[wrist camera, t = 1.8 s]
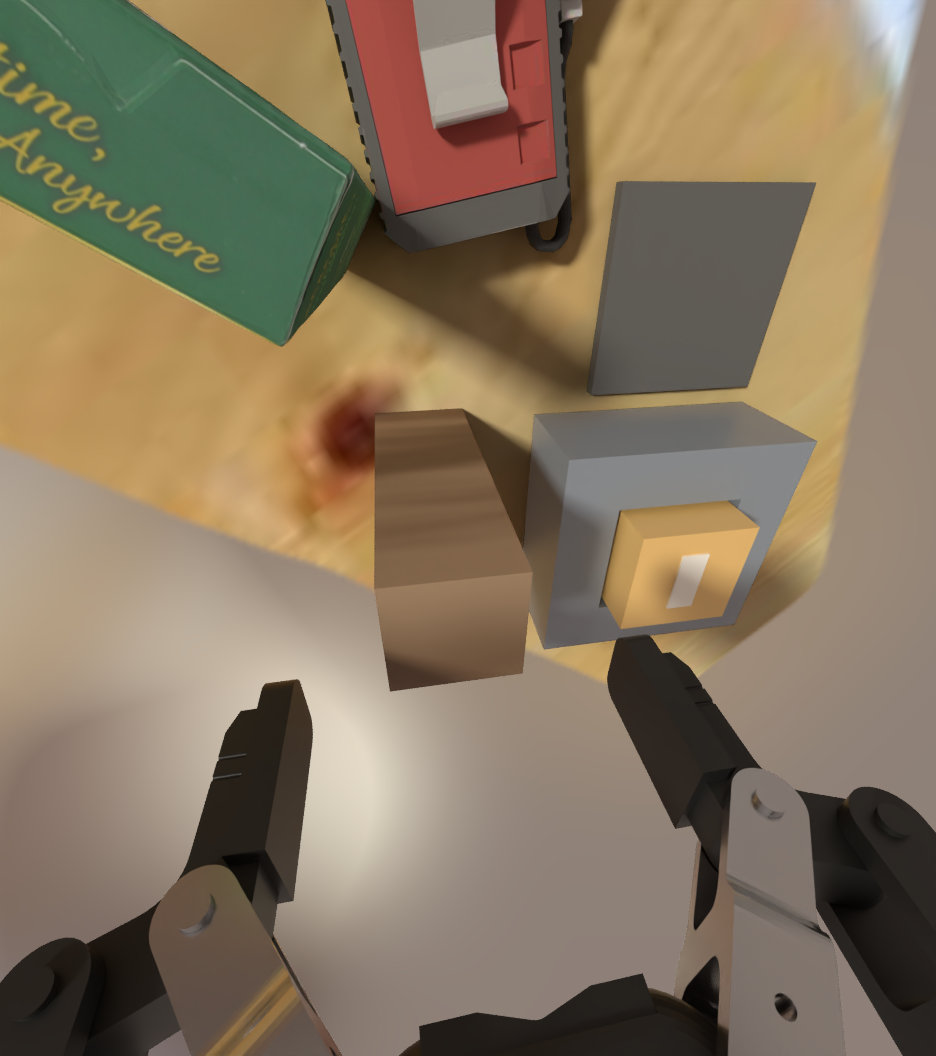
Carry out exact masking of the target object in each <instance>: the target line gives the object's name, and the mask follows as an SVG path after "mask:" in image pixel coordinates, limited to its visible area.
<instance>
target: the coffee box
mask: <svg viewBox="0 0 936 1056" xmlns="http://www.w3.org/2000/svg"><path fill="white" fill-rule="evenodd" d="M0 201H2V202H4V203H6V204H7V205H9V206H11V207H13V208H15V209H17V210H19V211H21V212H22V213H24V214H26V215H28V216H30V217H32V218H34V219H36V220H37V221H39V222H41V223H43V224H45V225H47V226H49V227H51V228H52V229H54V230H56V231H58V232H60V233H62V234H64V235H65V236H67V237H69V238H71V239H73V240H75V241H77V242H79V243H80V244H82V245H84V246H86V247H88V248H90V249H92V250H94V251H95V252H97V253H99V254H101V255H103V256H105V257H107V258H109V259H110V260H112V261H114V262H116V263H118V264H120V265H122V266H124V267H126V268H128V269H129V270H131V271H133V272H135V273H137V274H139V275H141V276H143V277H145V278H147V279H149V280H150V281H152V282H154V283H156V284H158V285H160V286H162V287H164V288H166V289H168V290H170V291H172V292H173V293H175V294H177V295H179V296H181V297H183V298H185V299H187V300H189V301H191V302H193V303H195V304H197V305H199V306H201V307H202V308H204V309H206V310H208V311H210V312H212V313H214V314H216V315H218V316H220V317H222V318H224V319H226V320H227V321H229V322H231V323H233V324H235V325H237V326H239V327H241V328H243V329H245V330H247V331H249V332H251V333H253V334H255V335H257V336H259V337H261V338H263V339H264V340H266V341H268V342H270V343H273V344H275V345H278V346H281V347H282V346H284V345H285V344H287V343H288V342H289V340H290V339H291V338H292V337H293V335H294V334H295V333H296V331H297V330H298V328H299V327H300V326H301V325H302V324H303V323H304V322H305V321H306V320H307V319H308V318H309V316H310V315H311V314H312V313H313V312H314V311H315V310H316V309H317V307H318V306H319V305H320V304H321V303H322V301H323V300H324V299H325V298H326V297H327V295H328V294H329V293H330V292H331V290H332V289H333V288H334V286H335V285H336V284H337V283H338V282H339V281H340V280H341V279H342V277H343V275H344V274H345V273H346V271H347V268H348V265H349V263H350V260H351V258H352V255H353V253H354V251H355V248H356V246H357V244H358V241H359V239H360V236H361V234H362V232H363V230H364V227H365V225H366V223H367V221H368V219H369V216H370V214H371V211H372V209H373V207H374V205H375V198H374V196H373V195H372V193H371V192H370V191H369V190H368V188H367V187H366V186H365V183H364V182H363V181H362V179H361V178H360V176H359V174H358V173H357V171H356V169H355V168H354V166H353V165H352V164H351V163H350V162H349V161H348V160H347V159H346V158H345V157H344V156H342V155H341V154H340V153H338V152H337V151H336V150H334V149H333V148H331V147H330V146H329V145H327V144H326V143H324V142H323V141H322V140H320V139H319V138H318V137H316V136H315V135H313V134H312V133H310V132H309V131H307V130H306V129H304V128H303V127H302V126H300V125H299V124H298V123H296V122H295V121H294V120H292V119H291V118H290V117H288V116H287V115H286V114H284V113H283V112H282V111H280V110H279V109H278V108H276V107H275V106H274V105H272V104H271V103H270V102H268V101H267V100H265V99H264V98H263V97H261V96H260V95H259V94H257V93H256V92H254V91H253V90H252V89H250V88H249V87H247V86H246V85H244V84H243V83H242V82H240V81H239V80H237V79H236V78H235V77H233V76H232V75H230V74H229V73H228V72H226V71H225V70H223V69H222V68H221V67H219V66H218V65H216V64H215V63H214V62H212V61H211V60H209V59H208V58H207V57H205V56H204V55H202V54H201V53H199V52H198V51H197V50H195V49H194V48H192V47H191V46H190V45H188V44H187V43H185V42H184V41H182V40H181V39H180V38H178V37H177V36H176V35H174V34H173V33H172V32H171V31H169V30H168V29H167V28H165V27H164V26H163V25H162V24H160V23H159V22H158V21H156V20H155V19H153V18H152V17H150V16H149V15H148V14H146V13H145V12H143V11H142V10H141V9H139V8H138V7H137V6H135V5H134V4H133V3H131V2H130V1H129V0H0Z"/></svg>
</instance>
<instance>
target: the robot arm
mask: <svg viewBox="0 0 936 1056" xmlns="http://www.w3.org/2000/svg"><path fill="white" fill-rule="evenodd" d="M607 683H608V689H609V693H610V696H611V699H612V701H613V703H614V705H615V707H616V709H617V711H618V713H619V715H620V717H621V719H622V721H623V723H624V725H625V727H626V729H627V731H628V733H629V735H630V738H631V739H632V742H633V744H634V746H635V748H636V750H637V752H638V754H639V755H640V758H641V760H642V762H643V764H644V766H645V768H646V770H647V772H648V774H649V776H650V778H651V780H652V782H653V784H654V786H655V788H656V790H657V793H658V795H659V797H660V799H661V801H662V803H663V805H664V807H665V809H666V811H667V813H668V815H669V817H670V819H671V821H672V823H673V825H674V827H675V829H677V828H682V827H687V826H692V827H693V829H694V831H695V833H696V835H697V837H698V840H697V844H696V852H695V861H694V870H693V879H692V889H691V897H690V907H689V916H688V925H687V932H686V937H685V941H684V945H683V948H682V951H681V954H680V959H679V962H678V967H677V973H676V980H675V988H674V996H672V995H670V994H668V993H665V992H662V991H659V990H656V989H652V988H648V987H647V984H646V982H645V979H644V976H643V974H638V975H634V976H630V977H625V978H621V979H617V980H613V981H609V982H605V983H600V984H596V985H591V986H589V987H588V988H587V989H585V990H584V991H582V992H581V993H580V994H578V995H576V996H575V997H573V998H572V999H571V1000H569V1001H568V1002H566V1003H565V1004H563V1005H562V1006H560V1007H559V1008H557V1009H556V1010H555V1011H553V1012H552V1013H550V1014H549V1015H547V1016H546V1017H544V1018H543V1019H540V1020H527V1019H520V1018H512V1017H505V1016H498V1015H490V1014H484V1013H473V1014H469V1015H465V1016H460V1017H456V1018H453V1019H448V1020H444V1021H440V1022H435V1023H431V1024H427V1025H423V1026H419V1030H420V1040H418V1041H417V1042H416V1043H414V1044H413V1045H412V1046H410V1047H408V1048H407V1049H406V1050H405V1051H404V1052H403V1053H401V1054H400V1055H399V1056H846V1052H845V1041H844V1031H843V1021H842V1010H841V1001H840V989H839V979H838V969H837V960H836V954H835V949H834V946H833V943H832V941H831V939H830V937H829V936H828V935H827V933H825V932H823V931H821V929H820V927H819V925H818V922H817V916H816V909H817V911H818V912H819V914H820V916H821V918H822V919H823V921H824V923H825V924H826V926H827V928H828V929H829V931H830V933H831V934H832V936H833V938H834V940H835V941H836V943H837V945H838V946H839V948H840V950H841V952H842V953H843V955H844V957H845V958H846V960H847V961H848V963H849V965H850V967H851V968H852V970H853V972H854V973H855V975H856V977H857V979H858V980H859V982H860V984H861V986H862V987H863V989H864V991H865V992H866V994H867V996H868V997H869V999H870V1001H871V1003H872V1004H873V1006H874V1008H875V1009H876V1011H877V1013H878V1014H879V1016H880V1018H881V1019H882V1021H883V1023H884V1025H885V1026H886V1028H887V1030H888V1031H889V1033H890V1035H891V1037H892V1038H893V1040H894V1042H895V1043H896V1045H897V1047H898V1048H899V1050H900V1052H901V1054H902V1055H903V1056H936V832H935V831H934V830H933V829H932V828H931V827H930V825H929V824H928V823H927V822H926V821H925V820H924V818H923V817H922V816H921V815H920V814H919V813H918V812H917V811H916V810H915V809H913V808H912V807H911V806H910V805H909V804H907V803H906V802H905V801H903V800H902V799H900V798H898V797H897V796H895V795H893V794H891V793H889V792H887V791H884V790H881V789H878V788H873V787H861V788H857V789H855V790H854V791H853V792H852V793H851V794H850V795H849V796H848V797H847V799H843V798H837V797H831V796H825V795H819V794H813V793H807V792H803V791H798V790H795V789H794V788H793V787H792V786H790V784H788V783H787V782H786V781H785V780H783V779H782V778H780V777H779V776H777V775H775V774H773V773H771V772H769V771H766V770H763V769H762V768H761V767H760V766H759V765H758V764H757V762H756V761H755V760H754V759H753V757H752V756H751V754H750V753H749V752H748V750H747V749H746V747H745V746H744V744H743V743H742V742H741V740H740V739H739V737H738V736H737V734H736V733H735V731H734V730H733V729H732V727H731V726H730V724H729V723H728V722H727V720H726V719H725V717H724V716H723V715H722V713H721V712H720V710H719V709H718V707H717V706H716V704H713V702H712V699H711V697H710V696H709V694H708V693H707V692H706V690H705V689H703V688H702V684H701V683H700V682H699V680H698V679H697V677H696V676H695V674H694V673H693V671H692V670H691V669H690V667H689V666H687V665H686V664H685V663H684V662H682V661H681V660H680V659H679V658H677V657H676V656H675V655H674V654H672V653H671V652H669V653H662V652H661V651H660V649H659V648H658V646H657V645H656V643H655V642H654V640H653V639H652V638H651V637H650V636H649V635H647V634H643V635H636V636H628V637H621V638H618V639H617V640H616V643H615V647H614V651H613V655H612V659H611V663H610V667H609V671H608V676H607ZM312 739H313V729H312V720H311V715H310V712H309V709H308V706H307V703H306V699H305V697H304V693H303V690H302V687H301V684H300V681H299V680H297V679H296V680H289V681H281V682H273V683H266V684H265V685H264V686H263V688H262V691H261V695H260V699H259V703H258V707H257V709H252V710H245V711H241V712H240V713H239V714H238V716H237V717H236V719H235V720H234V722H233V723H232V724H231V726H230V727H229V729H228V730H227V732H226V733H225V736H224V740H223V743H222V746H221V750H220V753H219V761H217V764H216V767H215V770H214V774H213V781H212V782H211V784H210V788H209V791H208V794H207V798H206V801H205V805H204V809H203V812H202V815H201V819H200V822H199V825H198V829H197V832H196V836H195V839H194V843H193V846H192V849H191V853H190V856H189V860H188V862H187V864H186V867H185V869H184V871H183V873H182V874H181V876H180V878H179V879H178V881H177V882H176V883H175V884H174V885H173V886H172V887H171V888H170V889H169V890H168V892H167V893H166V894H165V895H164V897H163V898H162V900H160V901H159V902H158V903H157V904H156V905H155V906H153V907H152V908H150V909H149V910H148V911H146V912H145V913H143V914H141V915H140V916H138V917H136V918H135V919H132V920H131V921H129V922H127V923H125V924H123V925H121V926H119V927H117V928H115V929H114V930H112V931H110V932H108V933H106V934H104V935H102V936H100V937H98V938H97V939H95V940H93V941H91V942H89V943H87V944H85V943H83V942H82V941H81V940H78V939H75V938H62V939H58V940H54V941H51V942H49V943H47V944H45V945H43V946H41V947H39V948H38V949H36V950H35V951H34V952H31V953H30V954H29V955H28V956H26V957H25V958H24V959H23V960H21V962H19V963H18V964H17V965H16V966H15V967H14V968H13V969H12V970H11V971H10V972H9V974H7V975H6V977H5V978H4V979H3V980H2V982H1V983H0V1056H148V1051H149V1049H151V1048H153V1047H154V1046H155V1045H157V1044H159V1043H160V1042H162V1041H163V1040H165V1039H166V1038H168V1037H170V1036H171V1035H173V1034H175V1033H176V1032H178V1031H179V1030H182V1033H183V1036H184V1039H185V1041H186V1044H187V1047H188V1049H189V1052H190V1055H191V1056H342V1054H341V1052H340V1050H339V1049H338V1047H337V1045H336V1044H335V1042H334V1040H333V1038H332V1037H331V1035H330V1033H329V1032H328V1030H327V1029H326V1027H325V1025H324V1023H323V1022H322V1020H321V1018H320V1017H319V1015H318V1013H317V1011H316V1009H315V1008H314V1006H313V1004H312V1002H311V1000H310V999H309V997H308V995H307V993H306V991H305V990H304V988H303V986H302V984H301V982H300V981H299V979H298V977H297V975H296V973H295V972H294V970H293V968H292V967H291V964H290V963H289V961H288V960H287V957H286V955H285V954H284V952H283V950H282V948H281V947H280V945H279V943H278V941H277V939H276V938H275V936H274V934H273V931H274V923H275V917H276V910H277V904H279V903H284V902H289V901H293V899H294V891H295V890H294V889H295V883H296V874H297V866H298V858H299V849H300V841H301V832H302V825H303V816H304V808H305V800H306V790H307V782H308V774H309V766H310V758H311V749H312Z"/></svg>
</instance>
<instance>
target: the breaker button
mask: <svg viewBox="0 0 936 1056" xmlns="http://www.w3.org/2000/svg"><path fill="white" fill-rule="evenodd" d="M759 529H760V527H759V526H758V525H756V524H755V523H754V522H753V521H752V520H750V519H749V518H748V517H747V516H745V515H744V514H743V513H742V512H741V511H739V510H738V509H737V508H736V507H735V506H733V505H732V504H731V503H730V502H729V501H727V500H726V501H715V502H704V503H693V504H682V505H671V506H661V507H650V508H639V509H628V510H620V511H619V515H618V520H617V524H616V529H615V534H614V538H613V543H612V548H611V552H610V557H609V562H608V566H607V571H606V575H605V580H604V585H603V589H602V594H601V596H602V598H603V600H604V602H605V603H606V605H607V607H608V609H609V610H610V612H611V614H612V615H613V617H614V619H615V621H616V622H617V624H618V626H619V627H620V629H626V628H634V627H642V626H650V625H658V624H665V623H673V622H681V621H689V620H697V619H705V618H712V617H720V616H722V615H723V613H724V610H725V608H726V606H727V603H728V601H729V599H730V596H731V594H732V592H733V589H734V587H735V585H736V582H737V580H738V578H739V575H740V573H741V571H742V568H743V566H744V564H745V561H746V559H747V557H748V554H749V552H750V550H751V547H752V545H753V543H754V540H755V538H756V536H757V533H758V531H759Z"/></svg>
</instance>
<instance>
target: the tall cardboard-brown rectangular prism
mask: <svg viewBox="0 0 936 1056" xmlns="http://www.w3.org/2000/svg"><path fill="white" fill-rule="evenodd" d="M532 573H533V572H532V569H531V567H530V565H529V562H528V560H527V558H526V555H525V553H524V551H523V549H522V546H521V544H520V542H519V539H518V537H517V535H516V532H515V530H514V528H513V525H512V523H511V521H510V518H509V516H508V514H507V511H506V509H505V507H504V504H503V502H502V500H501V497H500V495H499V493H498V491H497V488H496V486H495V484H494V481H493V479H492V477H491V474H490V472H489V470H488V467H487V465H486V463H485V460H484V458H483V456H482V453H481V451H480V449H479V446H478V444H477V442H476V439H475V437H474V435H473V433H472V430H471V428H470V426H469V423H468V421H467V419H466V416H465V414H464V412H463V409H445V410H428V411H411V412H394V413H377V414H375V572H374V590H375V596H376V603H377V609H378V616H379V622H380V629H381V635H382V642H383V648H384V655H385V661H386V668H387V674H388V680H389V687H390V691H397V690H404V689H410V688H419V687H426V686H433V685H441V684H448V683H455V682H462V681H470V680H477V679H484V678H492V677H499V676H506V675H513V674H521V673H523V663H524V653H525V643H526V633H527V623H528V613H529V603H530V593H531V583H532Z"/></svg>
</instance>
